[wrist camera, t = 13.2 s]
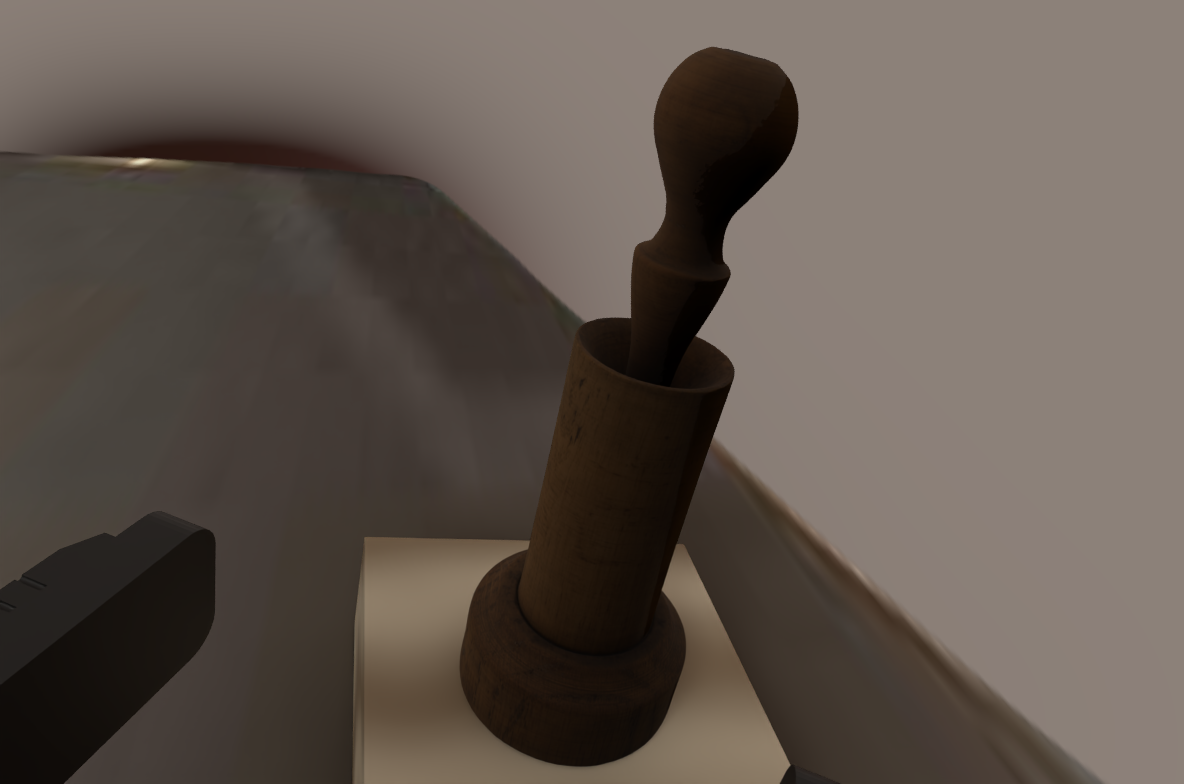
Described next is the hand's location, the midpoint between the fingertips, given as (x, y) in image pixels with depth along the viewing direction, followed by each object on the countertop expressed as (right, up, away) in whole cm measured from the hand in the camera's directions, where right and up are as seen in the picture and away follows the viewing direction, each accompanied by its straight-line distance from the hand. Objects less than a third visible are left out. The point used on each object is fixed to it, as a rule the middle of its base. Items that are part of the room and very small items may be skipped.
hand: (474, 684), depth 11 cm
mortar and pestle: (+1, -5, +15) cm, 15 cm away
